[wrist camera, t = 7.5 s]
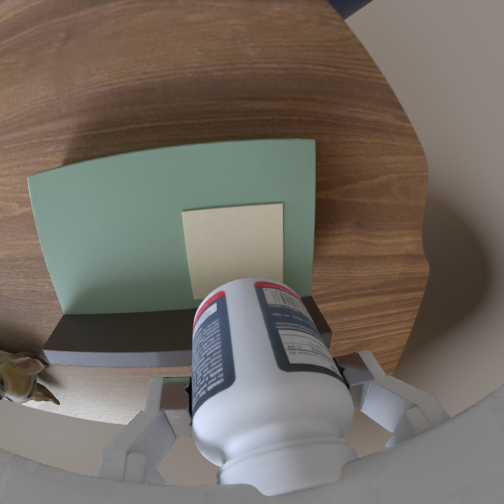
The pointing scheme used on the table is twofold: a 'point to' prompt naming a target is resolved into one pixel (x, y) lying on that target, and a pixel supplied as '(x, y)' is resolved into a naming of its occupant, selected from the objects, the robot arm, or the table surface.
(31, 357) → the ceramic sculpture
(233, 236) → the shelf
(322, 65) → the table surface
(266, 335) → the pill bottle
